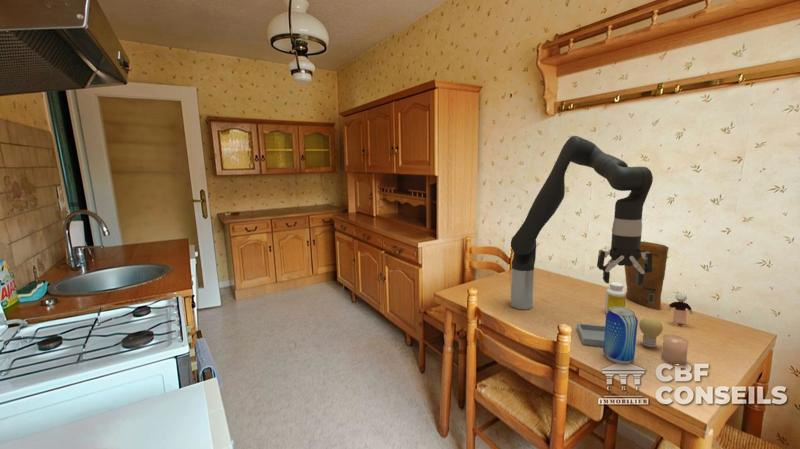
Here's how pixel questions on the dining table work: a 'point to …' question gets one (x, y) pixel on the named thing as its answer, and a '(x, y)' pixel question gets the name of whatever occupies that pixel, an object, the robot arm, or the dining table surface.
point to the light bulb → (650, 330)
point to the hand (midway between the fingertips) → (622, 283)
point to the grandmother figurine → (680, 310)
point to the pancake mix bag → (648, 277)
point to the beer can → (620, 335)
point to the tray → (591, 334)
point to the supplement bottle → (614, 296)
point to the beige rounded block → (674, 349)
